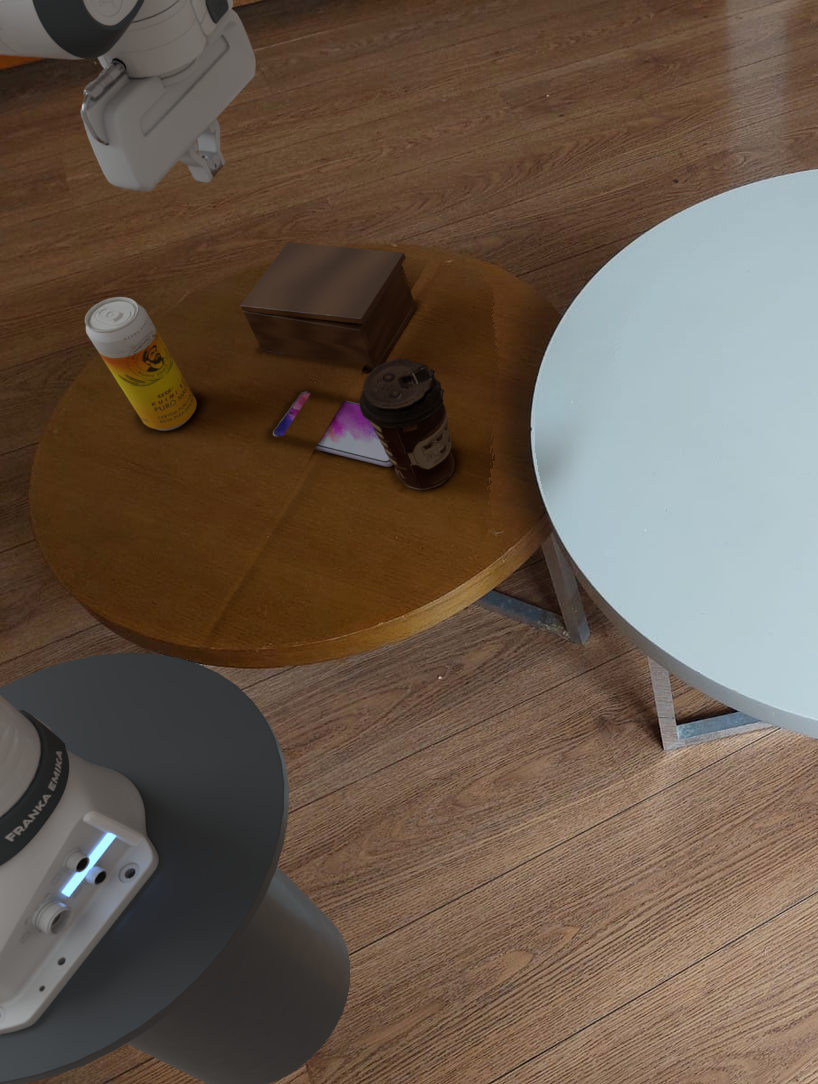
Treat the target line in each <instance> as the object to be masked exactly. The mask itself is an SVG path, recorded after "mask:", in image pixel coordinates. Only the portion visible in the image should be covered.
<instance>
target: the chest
mask: <svg viewBox="0 0 818 1084" xmlns="http://www.w3.org/2000/svg"><path fill="white" fill-rule="evenodd" d="M416 309H417V306H416V303H415V299H414V296H413V294H412V291H411V288H410V284H409V282H408V278H407V275H406V272H405V269H404V266H403V264H402V265H401V266H400V268H399V269H398V271H397V272H396V274H395V276H394V277H393V279H392V280H391V282H390V283H389V285H388V287H387V288H386V290H385V291H384V293H383V294H382V296H381V297H380V299H379V301H378V302H377V304H376V305H375V307H374V308H373V310H372V311H371V313H370V315H369V316H368V318H367V319H366V321H365V322H364V324H359V323H357V325H355V324H348V323H342V322H336V321H330V320H322V319H313V318H303V317H294V316H285V315H276V314H267V313H257V312H248V311H243V310H242V311H243V314H244V317H245V319H246V320H247V322H248V325H249V327H250V329H251V331H252V333H253V334H254V335H253V336H254V337H255V339H256V341H257V343H258V345H259V347H260V349H261V351H262V352H263V353H271V354H280V355H287V356H296V357H304V358H305V357H306V358H314V359H321V360H322V359H323V360H329V361H339V362H347V363H355V364H364V366H363V368H362V370H361V372H365V373H369V374H370V373H371V371H373V370H374V369H375V368H376V367H378V366H380V365H382V364H384V363H385V361H386V359H387V358H388V356H389V354H390V352H391V351H392V349H393V348H394V346H395V344H396V343H397V341H398V340H399V337H400V336H401V334H402V333H403V331H404V330H405V328H406V326H407V325H408V323H409V321H410V320H411V318H412V317H413V315H414V313H415V311H416Z"/></svg>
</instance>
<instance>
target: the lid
mask: <svg viewBox="0 0 818 1084" xmlns="http://www.w3.org/2000/svg"><path fill="white" fill-rule="evenodd" d="M405 260H406V255H405V252H401V251H392V250H391V251H390V250H380V249H370V248H369V249H367V248H358V247H347V246H336V245H325V244H314V243H304V242H303V243H302V242H292V241H287V242H286V244H285V245H284V246H283V248H282V249H281V250H280V252H278V254H277V255H276V256H275V258H274V259H273V261H272V263H270V265H269V266H268V268H266V270H265V272H264V273H263V274H262V276H261V277H260V278H259V279H258V281H257V282H256V284H255V285H254V287H252V289H251V290H250V292H249V293H248V294H247V296H246V297H245V298H244V300H243V301H242V302H241V304H240V308H241V310H242V311H248V312H257V313H267V314H276V315H285V316H294V317H303V318H313V319H322V320H331V321H340V322H350V323H359V324H364V322H365V321H366V319H367V318H368V316H369V315H370V313H371V311H372V310H373V308H374V307H375V305H376V304H377V302H378V301H379V299H380V297H381V296H382V294H383V293H384V291H385V290H386V288H387V287H388V285H389V283H390V282H391V280H392V279H393V277H394V276H395V274H396V272H397V271H398V269H399V268H400V266H401V265H402V266H403V263H404V262H405Z"/></svg>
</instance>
